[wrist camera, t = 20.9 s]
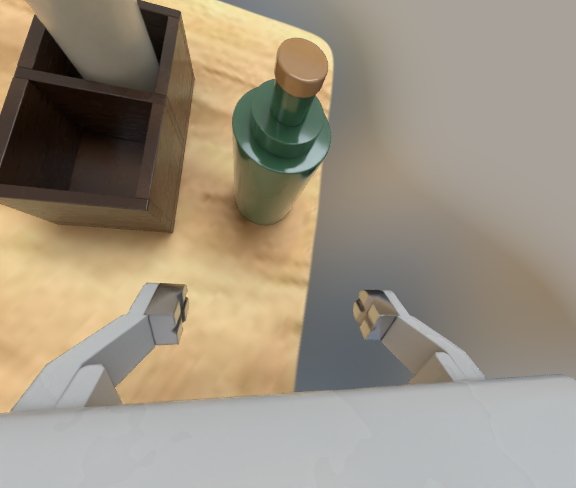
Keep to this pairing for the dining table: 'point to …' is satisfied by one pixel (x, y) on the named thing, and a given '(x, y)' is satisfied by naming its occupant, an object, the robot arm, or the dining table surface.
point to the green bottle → (280, 134)
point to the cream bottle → (102, 40)
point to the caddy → (97, 135)
